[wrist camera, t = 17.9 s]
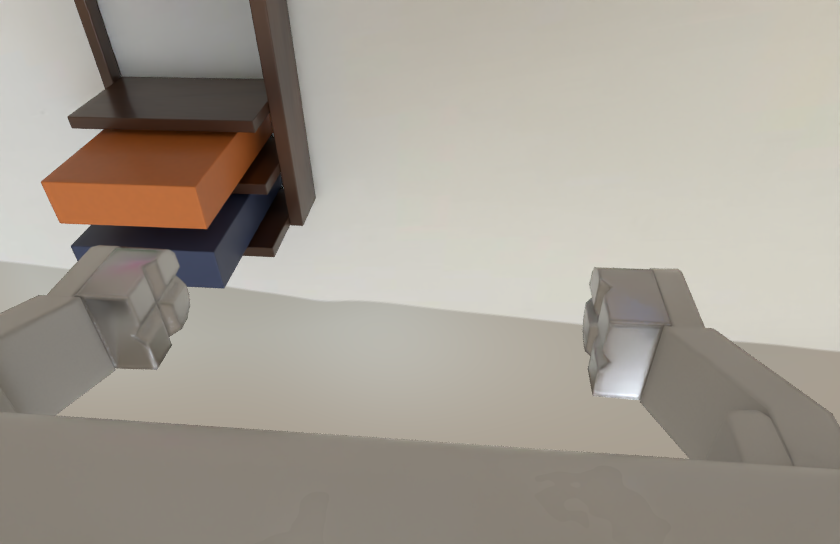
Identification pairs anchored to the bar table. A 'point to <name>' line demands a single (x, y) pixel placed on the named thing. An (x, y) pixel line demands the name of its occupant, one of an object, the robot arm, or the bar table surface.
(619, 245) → the bar table surface
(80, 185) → the orange book
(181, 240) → the navy book
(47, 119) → the bar table surface
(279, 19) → the book rack
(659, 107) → the bar table surface
